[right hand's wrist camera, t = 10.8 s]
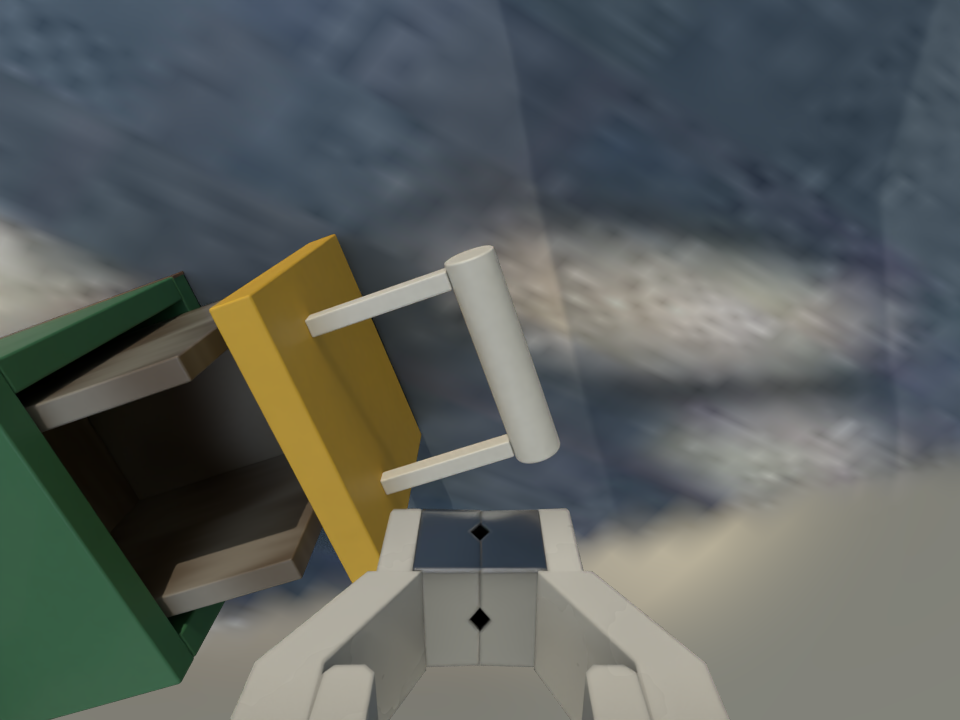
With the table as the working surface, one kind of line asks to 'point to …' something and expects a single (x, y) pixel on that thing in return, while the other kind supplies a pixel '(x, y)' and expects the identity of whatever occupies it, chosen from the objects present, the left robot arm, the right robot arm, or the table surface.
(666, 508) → the table surface
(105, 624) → the cabinet
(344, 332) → the drawer
